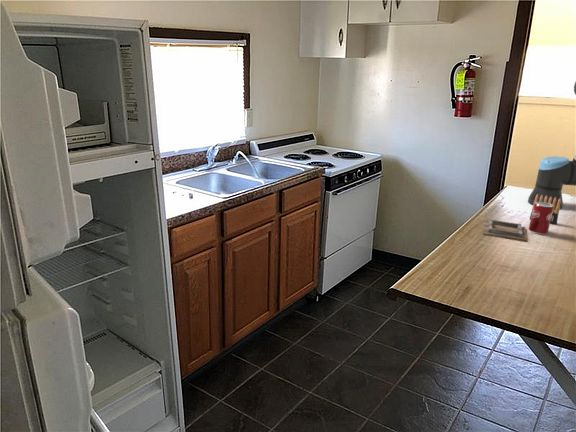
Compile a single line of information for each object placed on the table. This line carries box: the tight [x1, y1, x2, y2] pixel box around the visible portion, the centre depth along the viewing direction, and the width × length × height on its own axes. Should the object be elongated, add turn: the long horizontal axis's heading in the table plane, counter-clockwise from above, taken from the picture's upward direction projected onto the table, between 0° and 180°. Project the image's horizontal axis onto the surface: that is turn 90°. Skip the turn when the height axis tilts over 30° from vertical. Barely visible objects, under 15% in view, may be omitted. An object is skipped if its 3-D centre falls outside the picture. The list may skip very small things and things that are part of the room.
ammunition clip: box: [528, 194, 561, 226], centre depth 209 cm, size 11×2×12 cm, turn 54°
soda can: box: [528, 202, 554, 235], centre depth 196 cm, size 7×7×12 cm
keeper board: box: [482, 218, 528, 243], centre depth 197 cm, size 16×16×2 cm
